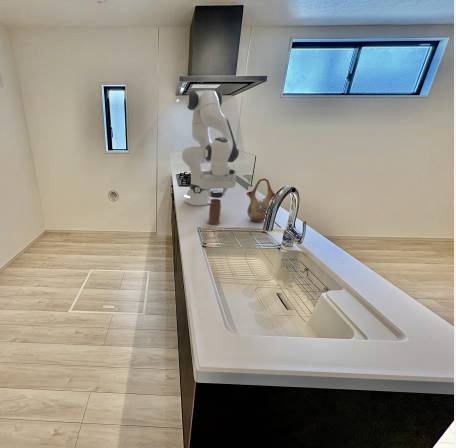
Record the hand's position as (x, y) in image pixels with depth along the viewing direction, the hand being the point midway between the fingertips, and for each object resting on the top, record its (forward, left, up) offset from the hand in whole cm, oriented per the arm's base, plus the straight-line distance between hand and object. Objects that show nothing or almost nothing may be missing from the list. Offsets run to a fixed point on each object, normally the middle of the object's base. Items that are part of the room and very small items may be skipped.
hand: (216, 195), depth 131 cm
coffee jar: (0, 0, -16) cm, 16 cm away
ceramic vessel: (-10, +24, -16) cm, 30 cm away
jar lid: (0, 0, +2) cm, 2 cm away
